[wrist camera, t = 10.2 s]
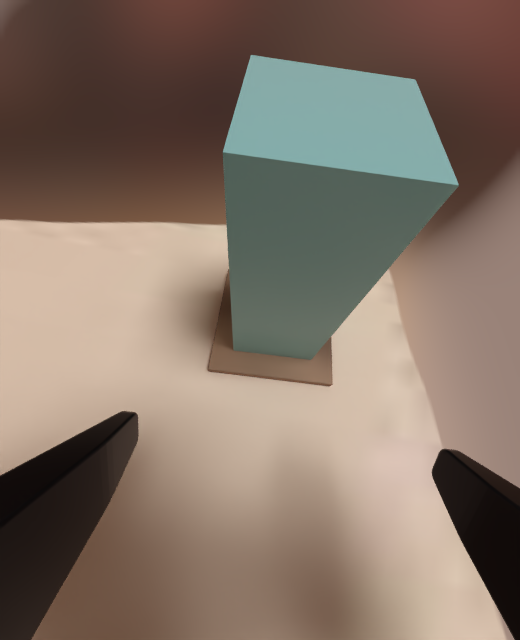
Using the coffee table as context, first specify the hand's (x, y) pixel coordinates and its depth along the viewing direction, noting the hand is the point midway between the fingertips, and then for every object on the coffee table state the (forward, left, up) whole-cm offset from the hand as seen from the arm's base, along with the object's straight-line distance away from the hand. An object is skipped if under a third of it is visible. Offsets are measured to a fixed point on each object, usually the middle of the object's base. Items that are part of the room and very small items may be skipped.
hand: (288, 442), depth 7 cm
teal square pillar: (+4, -7, -8) cm, 11 cm away
